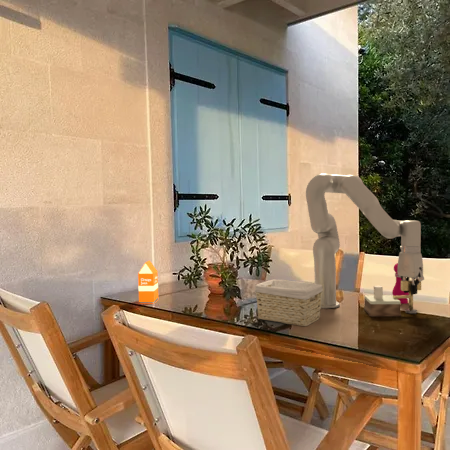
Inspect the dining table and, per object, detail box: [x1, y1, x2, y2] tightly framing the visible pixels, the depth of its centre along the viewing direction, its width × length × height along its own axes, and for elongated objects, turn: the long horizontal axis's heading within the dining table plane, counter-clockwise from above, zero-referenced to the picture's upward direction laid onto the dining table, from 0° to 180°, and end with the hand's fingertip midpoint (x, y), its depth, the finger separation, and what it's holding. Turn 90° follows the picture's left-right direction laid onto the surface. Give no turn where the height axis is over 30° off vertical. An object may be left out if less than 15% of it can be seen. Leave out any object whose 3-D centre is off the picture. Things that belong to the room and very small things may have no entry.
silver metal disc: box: [405, 308, 418, 315], centre depth 195 cm, size 4×4×1 cm
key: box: [393, 279, 422, 310], centre depth 195 cm, size 12×2×12 cm, turn 94°
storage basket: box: [254, 278, 323, 327], centre depth 189 cm, size 24×16×15 cm
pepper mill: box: [391, 262, 409, 305], centre depth 214 cm, size 7×7×20 cm
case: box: [363, 298, 402, 317], centre depth 196 cm, size 12×12×5 cm
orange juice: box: [137, 260, 159, 303], centre depth 229 cm, size 8×9×20 cm
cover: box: [364, 285, 401, 305], centre depth 196 cm, size 12×12×6 cm
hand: (410, 292), depth 195 cm, fingers closed on key, 3 cm apart
